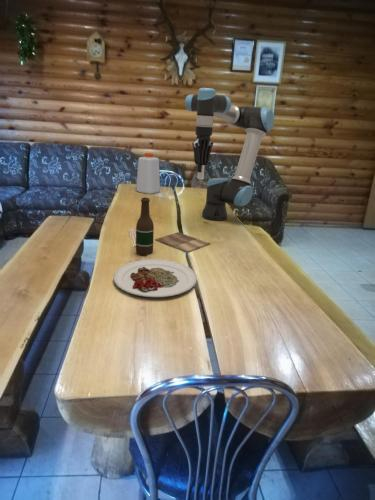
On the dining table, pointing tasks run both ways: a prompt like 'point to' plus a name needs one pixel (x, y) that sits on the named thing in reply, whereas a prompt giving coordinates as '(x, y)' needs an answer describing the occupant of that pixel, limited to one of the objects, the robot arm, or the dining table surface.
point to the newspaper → (133, 236)
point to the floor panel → (175, 239)
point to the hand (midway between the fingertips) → (200, 179)
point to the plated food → (155, 278)
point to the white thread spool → (148, 174)
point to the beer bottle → (144, 230)
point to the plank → (192, 245)
